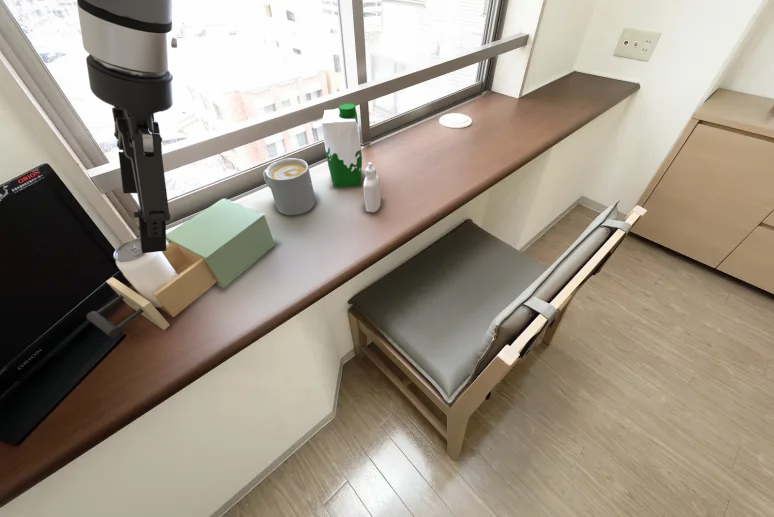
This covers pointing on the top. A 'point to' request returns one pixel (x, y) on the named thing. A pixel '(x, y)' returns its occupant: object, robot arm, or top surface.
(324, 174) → the top surface
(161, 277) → the can
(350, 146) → the milk carton
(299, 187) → the coffee mug
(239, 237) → the cabinet
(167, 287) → the drawer
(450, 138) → the top surface
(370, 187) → the eye dropper bottle
